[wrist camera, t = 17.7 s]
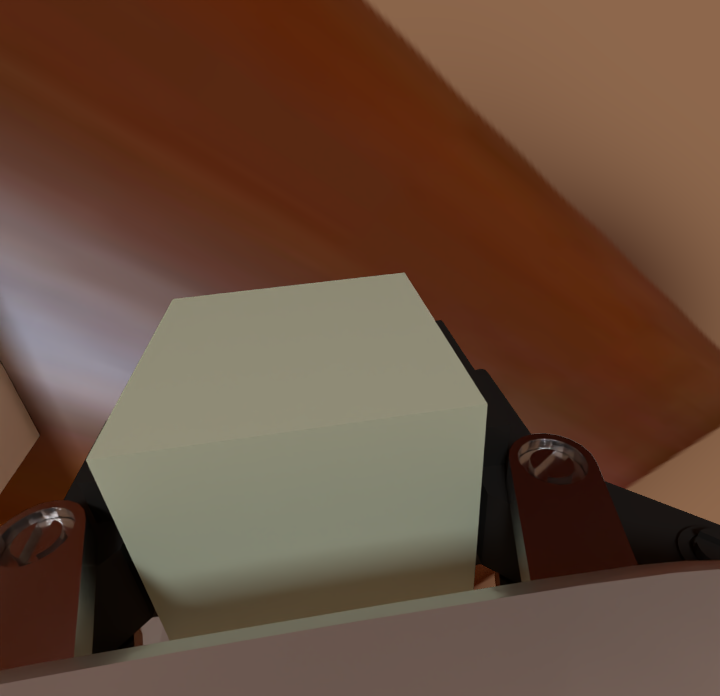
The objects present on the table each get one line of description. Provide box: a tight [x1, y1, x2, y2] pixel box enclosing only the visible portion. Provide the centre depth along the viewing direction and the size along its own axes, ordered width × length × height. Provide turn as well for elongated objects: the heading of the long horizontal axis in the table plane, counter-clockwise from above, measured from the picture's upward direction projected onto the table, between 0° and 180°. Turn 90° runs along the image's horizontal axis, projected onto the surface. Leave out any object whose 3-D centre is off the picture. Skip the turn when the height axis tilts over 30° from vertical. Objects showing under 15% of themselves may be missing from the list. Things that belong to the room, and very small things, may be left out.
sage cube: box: [86, 273, 488, 641], centre depth 9 cm, size 5×5×5 cm
